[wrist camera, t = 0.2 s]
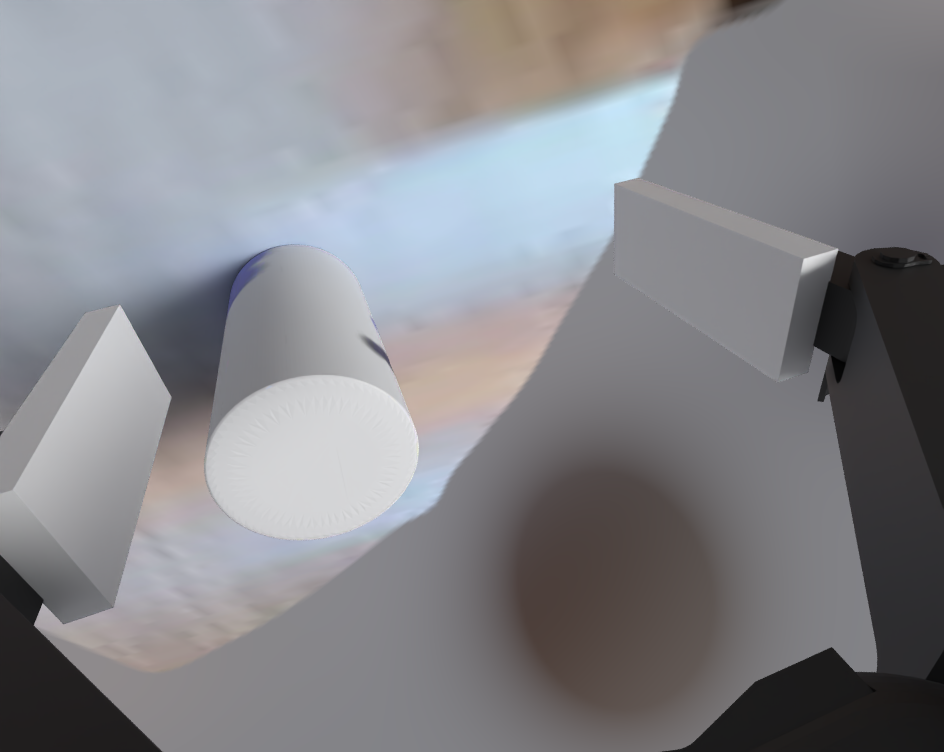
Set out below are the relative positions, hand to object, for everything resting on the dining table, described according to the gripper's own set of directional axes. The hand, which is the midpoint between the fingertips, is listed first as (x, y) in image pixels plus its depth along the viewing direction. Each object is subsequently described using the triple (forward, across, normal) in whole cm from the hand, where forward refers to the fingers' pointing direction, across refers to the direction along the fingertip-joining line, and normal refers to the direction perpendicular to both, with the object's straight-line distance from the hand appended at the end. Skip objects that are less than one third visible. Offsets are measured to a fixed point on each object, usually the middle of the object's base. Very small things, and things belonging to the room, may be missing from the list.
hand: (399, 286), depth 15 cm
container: (+28, -5, -11) cm, 31 cm away
